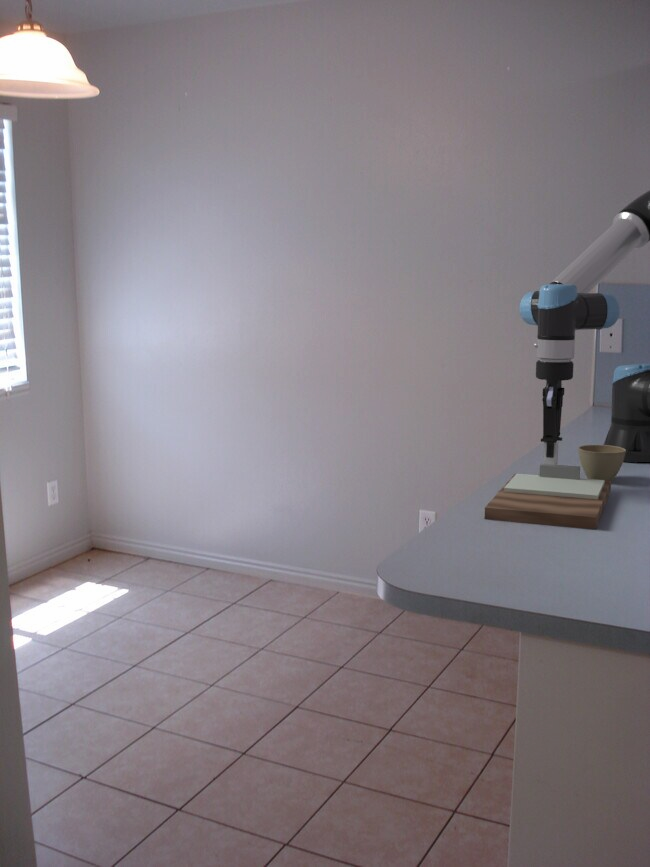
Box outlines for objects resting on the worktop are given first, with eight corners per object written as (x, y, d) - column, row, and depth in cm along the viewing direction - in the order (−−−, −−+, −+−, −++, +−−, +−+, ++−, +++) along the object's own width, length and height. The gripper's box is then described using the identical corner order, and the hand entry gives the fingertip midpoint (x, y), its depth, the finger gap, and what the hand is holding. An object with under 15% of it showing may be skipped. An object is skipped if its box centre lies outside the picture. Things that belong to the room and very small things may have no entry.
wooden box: (514, 483, 205) (514, 473, 205) (610, 491, 198) (610, 481, 197) (484, 518, 177) (484, 507, 176) (595, 529, 169) (596, 517, 169)
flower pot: (626, 486, 202) (628, 453, 201) (578, 484, 204) (579, 452, 203) (621, 476, 212) (623, 445, 211) (575, 474, 214) (577, 443, 213)
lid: (516, 477, 201) (517, 462, 200) (604, 484, 195) (605, 468, 194) (504, 491, 188) (504, 475, 188) (597, 499, 182) (598, 482, 181)
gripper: (541, 356, 202) (537, 464, 206) (531, 362, 190) (526, 476, 194) (577, 357, 200) (572, 467, 204) (569, 363, 188) (564, 479, 192)
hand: (550, 471), depth 199 cm, fingers closed
